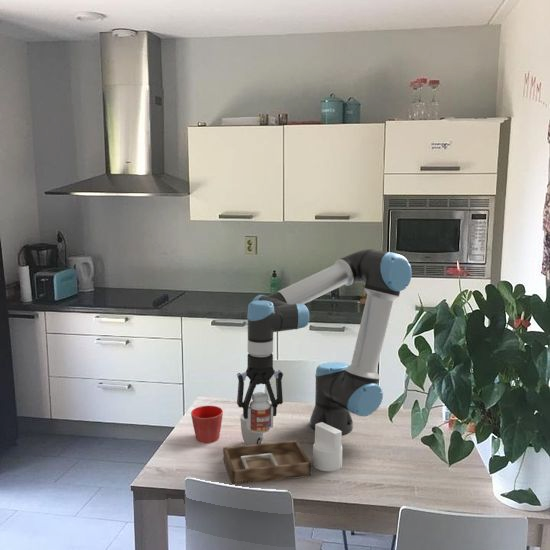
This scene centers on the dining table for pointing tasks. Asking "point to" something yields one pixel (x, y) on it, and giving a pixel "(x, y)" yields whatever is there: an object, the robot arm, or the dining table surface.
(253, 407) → the pill bottle
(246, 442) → the cup
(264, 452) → the box
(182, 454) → the dining table surface
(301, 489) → the dining table surface
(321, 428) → the cylinder with rectangular tab
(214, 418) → the flower pot
